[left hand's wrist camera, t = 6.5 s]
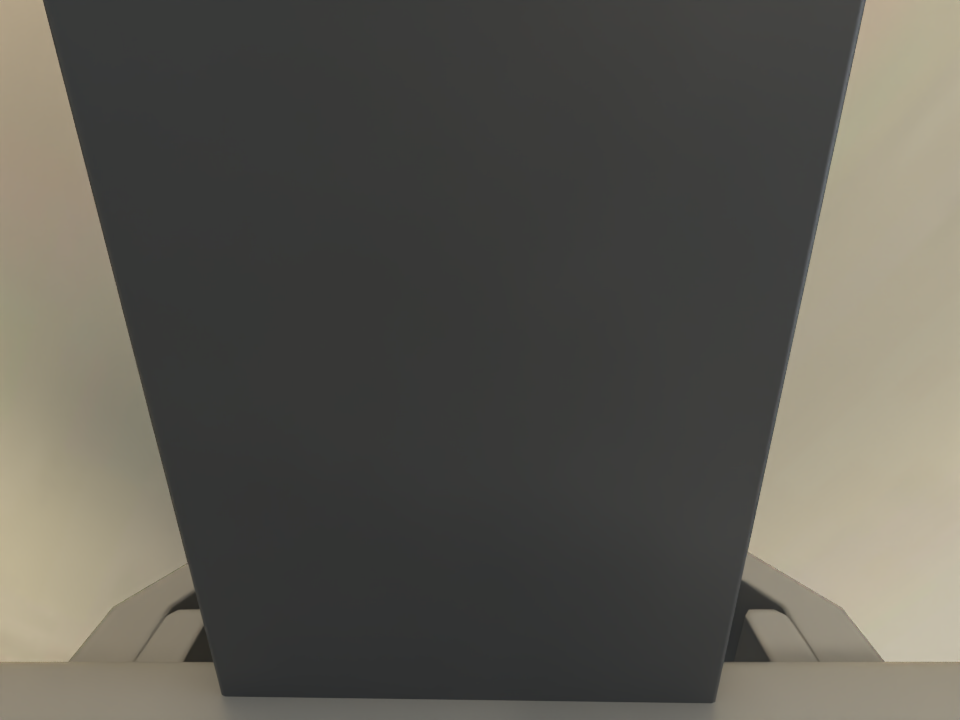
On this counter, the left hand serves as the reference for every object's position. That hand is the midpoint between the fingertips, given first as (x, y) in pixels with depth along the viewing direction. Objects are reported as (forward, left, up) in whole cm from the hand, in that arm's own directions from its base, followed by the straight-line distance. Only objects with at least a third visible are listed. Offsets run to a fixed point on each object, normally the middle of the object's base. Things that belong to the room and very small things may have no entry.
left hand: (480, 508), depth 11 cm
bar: (+27, -19, -3) cm, 33 cm away
